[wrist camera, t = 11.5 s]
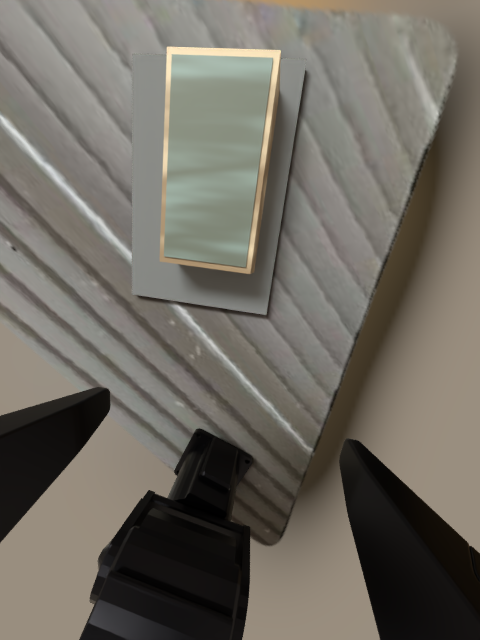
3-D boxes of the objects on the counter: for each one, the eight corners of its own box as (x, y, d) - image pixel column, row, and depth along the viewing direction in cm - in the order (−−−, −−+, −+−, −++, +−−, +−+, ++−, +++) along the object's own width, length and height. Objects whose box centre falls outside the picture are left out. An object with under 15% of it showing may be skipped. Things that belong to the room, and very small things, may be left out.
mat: (266, 313, 20) (266, 315, 19) (134, 293, 21) (131, 294, 21) (305, 64, 15) (306, 58, 15) (135, 58, 16) (132, 53, 16)
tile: (249, 274, 16) (280, 48, 12) (158, 261, 16) (166, 45, 13) (254, 272, 18) (279, 89, 15) (176, 261, 19) (186, 85, 16)
